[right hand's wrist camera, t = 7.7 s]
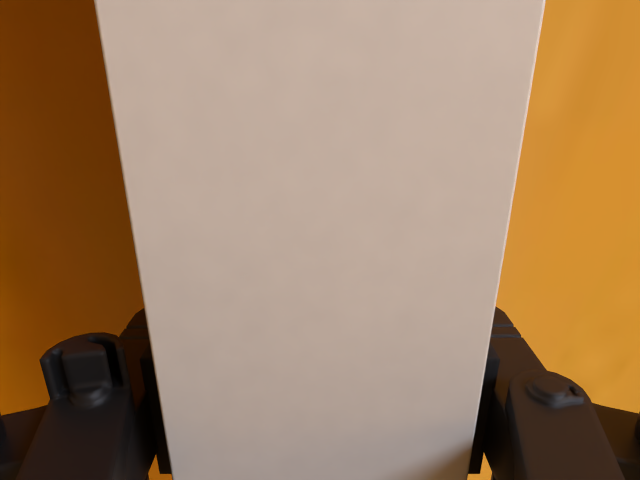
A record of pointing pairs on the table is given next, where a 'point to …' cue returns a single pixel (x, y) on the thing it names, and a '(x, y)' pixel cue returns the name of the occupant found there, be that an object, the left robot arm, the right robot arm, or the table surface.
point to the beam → (319, 223)
